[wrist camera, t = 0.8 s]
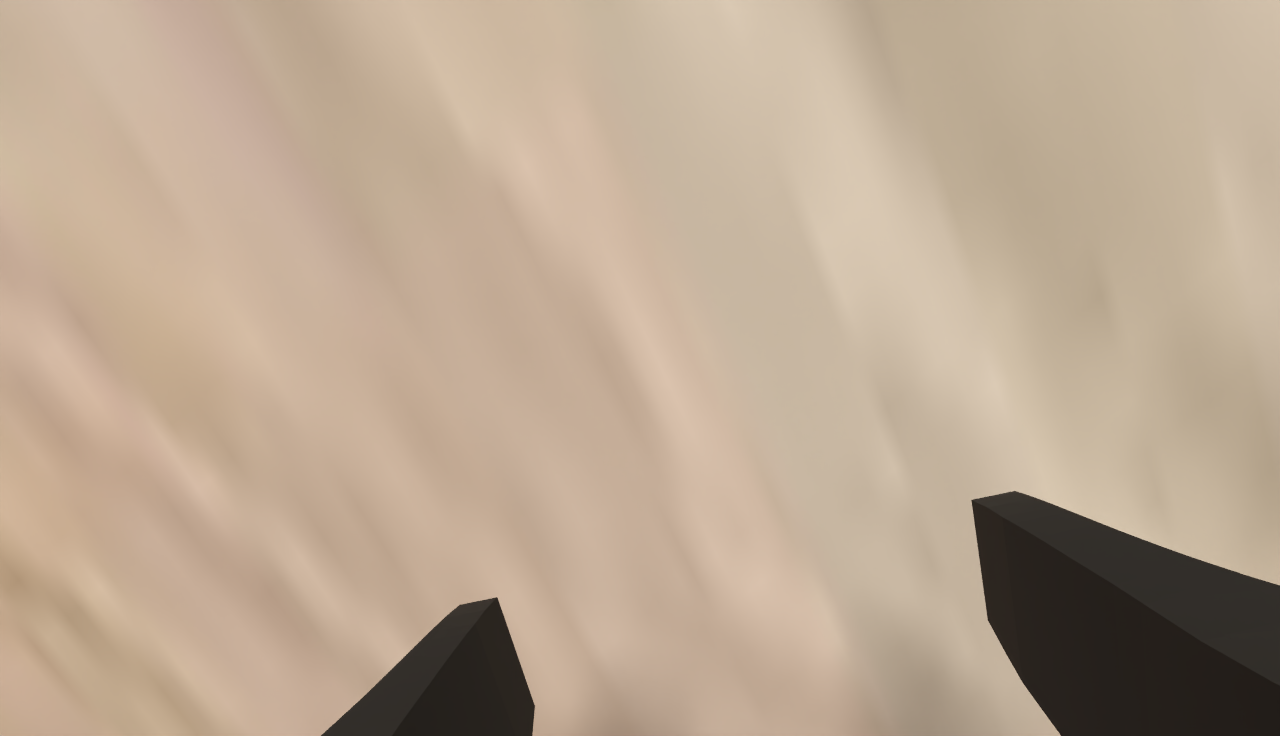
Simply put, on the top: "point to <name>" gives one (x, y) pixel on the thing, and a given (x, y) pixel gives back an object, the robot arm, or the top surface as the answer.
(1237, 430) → the top surface
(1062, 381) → the top surface
